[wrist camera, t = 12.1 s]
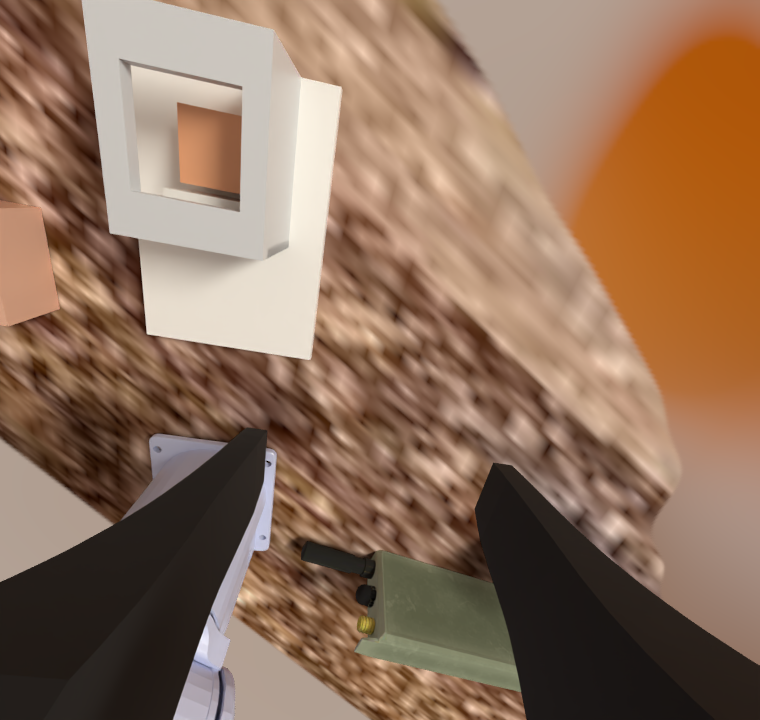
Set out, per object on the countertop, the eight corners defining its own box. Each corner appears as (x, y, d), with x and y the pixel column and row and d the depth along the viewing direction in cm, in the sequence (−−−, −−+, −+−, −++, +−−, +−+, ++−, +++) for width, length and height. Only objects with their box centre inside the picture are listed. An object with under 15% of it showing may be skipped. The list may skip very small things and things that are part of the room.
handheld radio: (555, 623, 32) (298, 550, 28) (577, 601, 31) (312, 521, 27) (600, 718, 26) (278, 645, 22) (628, 695, 25) (296, 612, 21)
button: (262, 196, 17) (248, 195, 15) (201, 184, 16) (180, 182, 15) (265, 127, 16) (250, 117, 14) (200, 114, 15) (176, 102, 13)
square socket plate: (311, 355, 21) (294, 400, 16) (153, 330, 20) (86, 369, 15) (342, 91, 16) (329, 42, 11) (129, 41, 15) (16, -33, 10)
